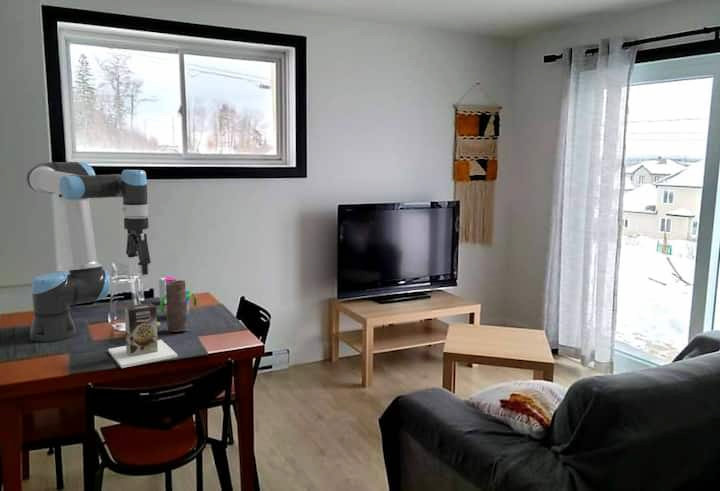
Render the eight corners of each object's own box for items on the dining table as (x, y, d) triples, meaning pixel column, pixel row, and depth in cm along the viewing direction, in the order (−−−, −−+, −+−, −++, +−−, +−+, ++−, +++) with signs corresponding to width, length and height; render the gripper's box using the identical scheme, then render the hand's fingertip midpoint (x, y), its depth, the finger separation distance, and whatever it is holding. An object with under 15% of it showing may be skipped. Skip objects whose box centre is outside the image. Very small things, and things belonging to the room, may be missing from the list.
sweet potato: (181, 335, 213) (179, 284, 210) (163, 333, 214) (161, 282, 211) (191, 329, 220) (189, 279, 217) (174, 327, 222) (172, 278, 218)
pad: (108, 351, 194) (108, 348, 194) (161, 342, 205) (161, 339, 205) (121, 368, 180) (121, 365, 180) (177, 357, 191) (177, 354, 190)
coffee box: (130, 356, 187) (128, 310, 184) (126, 351, 192) (123, 305, 190) (158, 351, 192) (156, 306, 190) (153, 346, 198) (151, 302, 195)
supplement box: (164, 305, 253) (163, 280, 251) (159, 302, 257) (158, 278, 256) (177, 303, 257) (176, 278, 255) (171, 300, 261) (170, 276, 259)
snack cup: (192, 310, 245) (192, 288, 244) (201, 316, 237) (200, 293, 235) (156, 316, 236) (155, 292, 234) (164, 322, 228) (163, 298, 226)
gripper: (114, 213, 192) (117, 274, 196) (134, 222, 172) (137, 288, 176) (137, 212, 197) (140, 271, 200) (159, 220, 177) (161, 286, 180)
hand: (138, 279), depth 188 cm, fingers open, 13 cm apart
